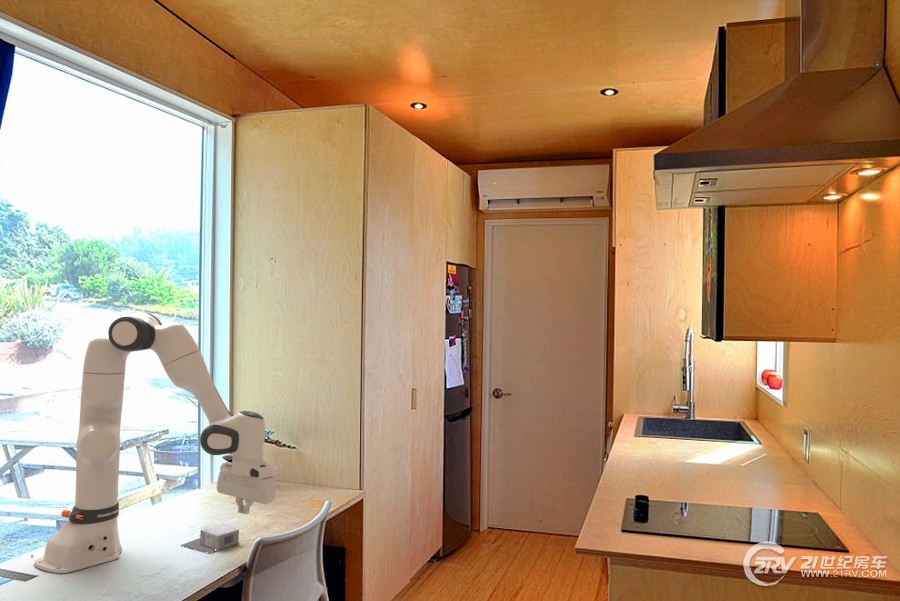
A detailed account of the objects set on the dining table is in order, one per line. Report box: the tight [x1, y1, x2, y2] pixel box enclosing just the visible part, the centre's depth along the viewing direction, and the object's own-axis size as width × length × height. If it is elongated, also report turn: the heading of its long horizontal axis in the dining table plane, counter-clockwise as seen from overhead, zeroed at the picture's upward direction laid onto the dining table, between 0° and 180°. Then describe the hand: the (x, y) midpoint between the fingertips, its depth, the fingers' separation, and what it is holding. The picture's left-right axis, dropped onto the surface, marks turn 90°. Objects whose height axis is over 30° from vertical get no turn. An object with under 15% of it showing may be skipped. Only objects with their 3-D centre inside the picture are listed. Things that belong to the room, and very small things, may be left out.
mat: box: [180, 537, 215, 554], centre depth 212 cm, size 12×12×1 cm
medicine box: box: [199, 523, 240, 551], centre depth 212 cm, size 8×4×9 cm
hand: (243, 513), depth 205 cm, fingers closed
